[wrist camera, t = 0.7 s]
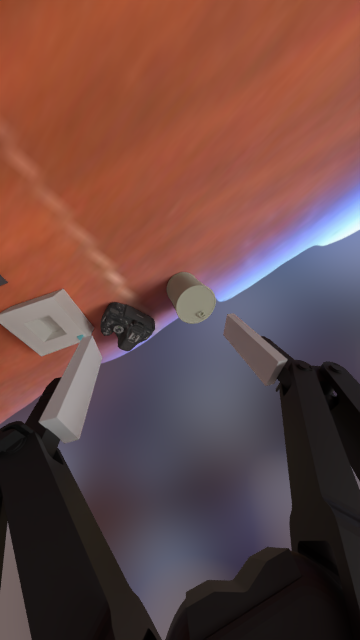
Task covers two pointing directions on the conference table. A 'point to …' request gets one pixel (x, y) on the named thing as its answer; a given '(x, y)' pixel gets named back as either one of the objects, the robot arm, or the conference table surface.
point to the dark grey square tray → (2, 280)
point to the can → (190, 298)
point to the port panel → (47, 322)
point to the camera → (126, 325)
